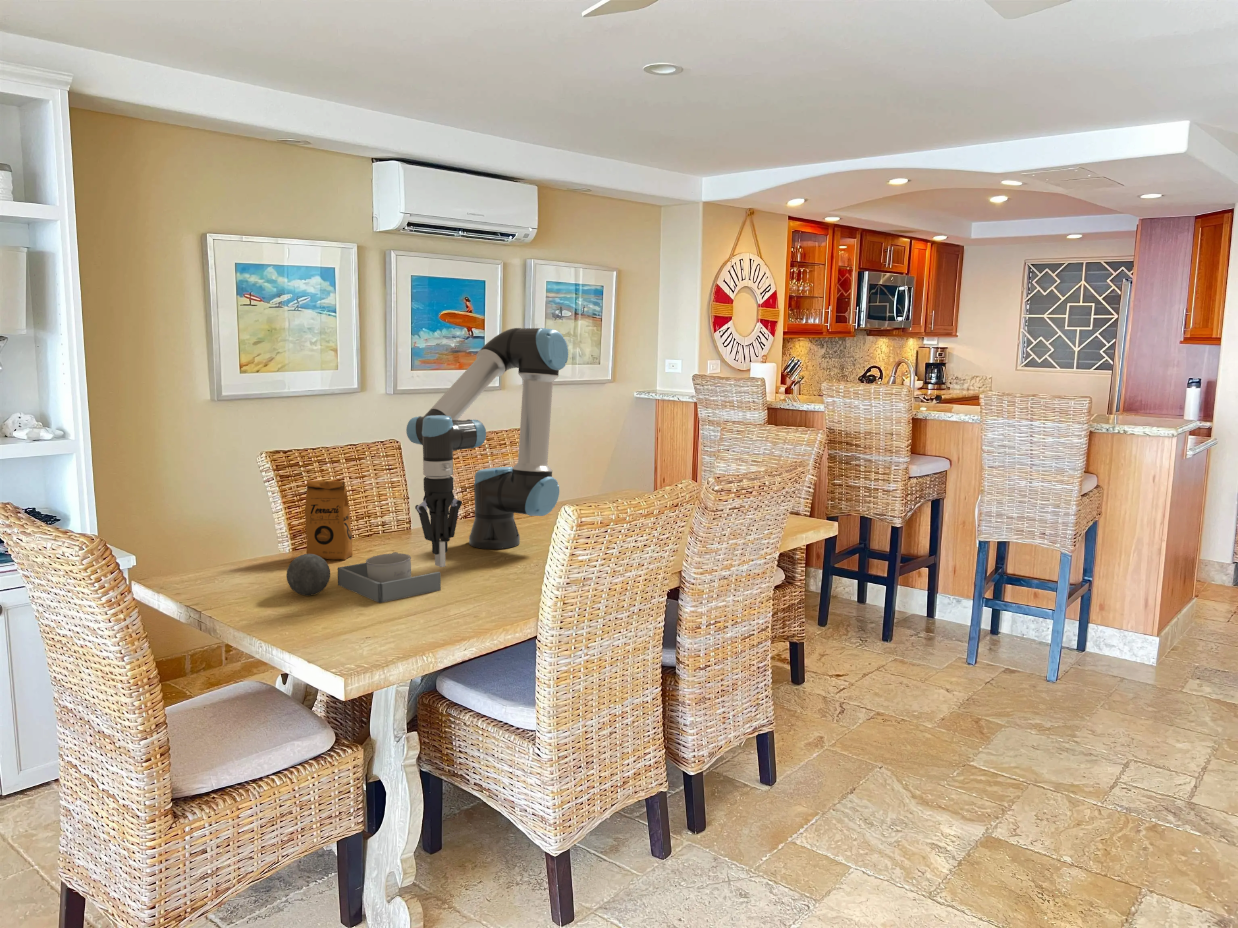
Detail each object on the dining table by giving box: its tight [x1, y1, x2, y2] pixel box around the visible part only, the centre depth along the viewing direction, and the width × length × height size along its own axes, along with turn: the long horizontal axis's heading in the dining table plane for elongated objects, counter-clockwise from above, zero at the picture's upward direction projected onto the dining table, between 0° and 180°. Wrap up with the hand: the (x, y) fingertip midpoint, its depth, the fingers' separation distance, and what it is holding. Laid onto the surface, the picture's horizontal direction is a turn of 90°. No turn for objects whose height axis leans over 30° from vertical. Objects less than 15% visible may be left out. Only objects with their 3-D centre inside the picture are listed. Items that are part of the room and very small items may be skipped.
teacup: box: [365, 551, 412, 583], centre depth 232 cm, size 14×11×8 cm
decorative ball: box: [286, 553, 331, 597], centre depth 224 cm, size 10×10×10 cm
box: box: [337, 562, 442, 604], centre depth 232 cm, size 17×21×4 cm
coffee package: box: [304, 479, 354, 561], centre depth 260 cm, size 10×12×22 cm
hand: (440, 565), depth 242 cm, fingers closed
